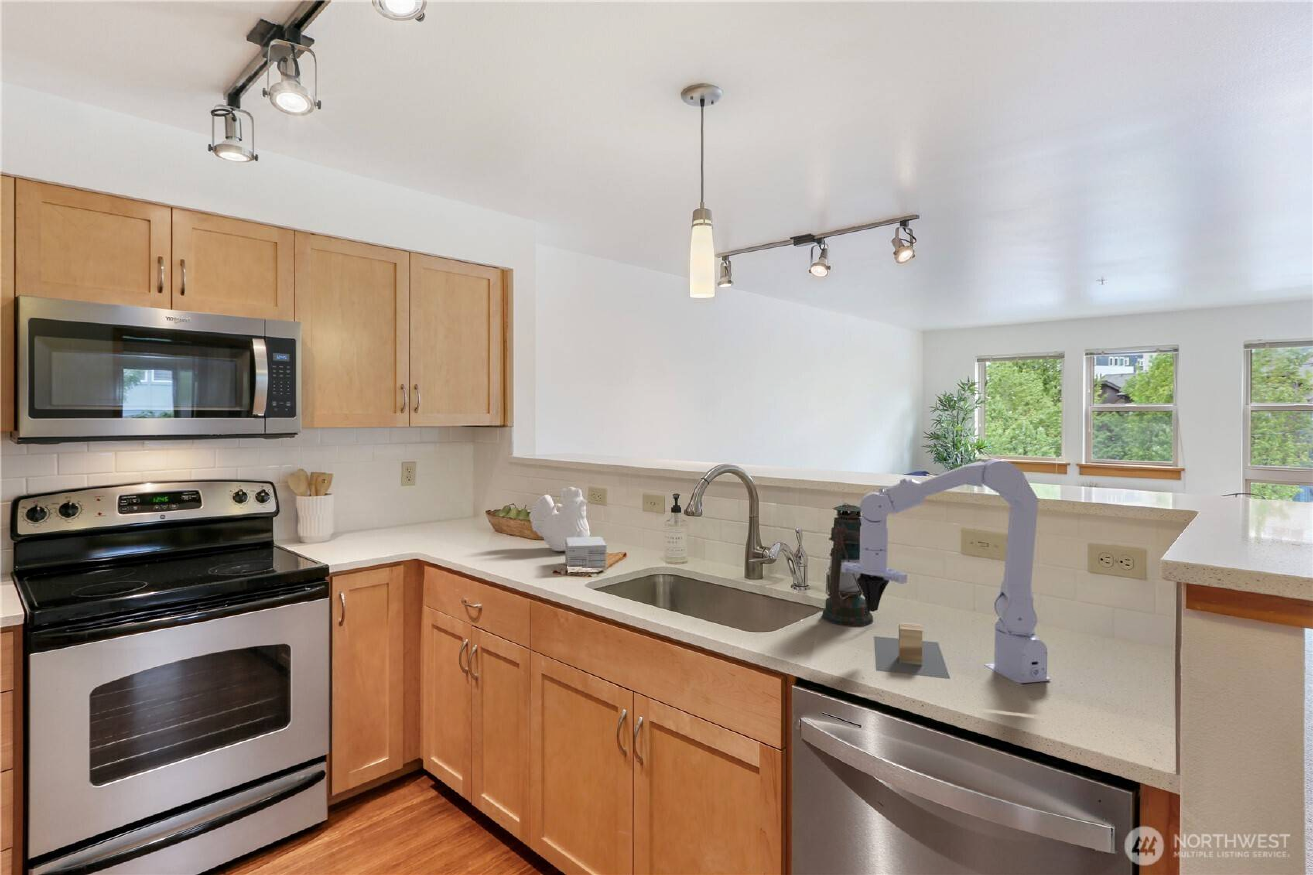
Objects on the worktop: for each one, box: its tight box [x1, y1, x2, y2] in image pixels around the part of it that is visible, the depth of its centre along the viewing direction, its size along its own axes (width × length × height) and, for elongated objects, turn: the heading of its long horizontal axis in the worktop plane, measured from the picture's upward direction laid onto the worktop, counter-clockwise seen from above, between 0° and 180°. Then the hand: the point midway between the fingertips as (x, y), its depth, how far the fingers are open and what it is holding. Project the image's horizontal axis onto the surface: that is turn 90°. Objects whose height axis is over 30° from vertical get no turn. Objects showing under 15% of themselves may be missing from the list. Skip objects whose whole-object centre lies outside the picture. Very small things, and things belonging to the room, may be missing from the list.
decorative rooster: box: [528, 486, 591, 552], centre depth 259 cm, size 25×16×25 cm, turn 56°
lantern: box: [821, 502, 874, 627], centre depth 172 cm, size 19×14×30 cm
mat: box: [873, 635, 951, 680], centre depth 145 cm, size 22×14×1 cm, turn 163°
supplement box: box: [564, 536, 608, 571], centre depth 229 cm, size 17×13×9 cm
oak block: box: [898, 621, 924, 666], centre depth 141 cm, size 4×4×8 cm
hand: (872, 610), depth 145 cm, fingers closed
